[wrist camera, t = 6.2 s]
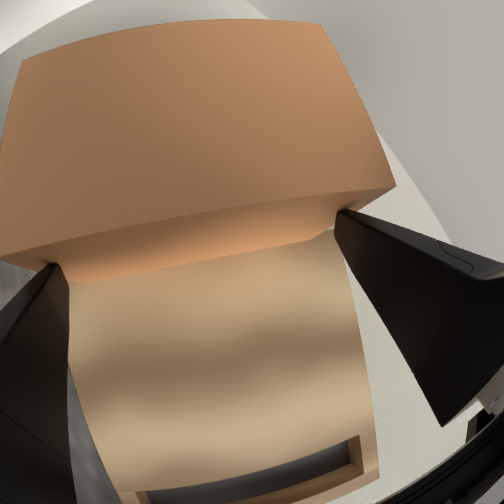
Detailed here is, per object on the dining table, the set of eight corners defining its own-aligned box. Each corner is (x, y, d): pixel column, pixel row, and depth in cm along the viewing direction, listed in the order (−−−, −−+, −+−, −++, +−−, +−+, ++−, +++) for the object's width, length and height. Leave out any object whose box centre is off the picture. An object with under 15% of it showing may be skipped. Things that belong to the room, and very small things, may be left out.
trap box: (363, 466, 15) (379, 478, 13) (147, 523, 12) (144, 541, 10) (265, 65, 19) (272, 46, 17) (68, 93, 16) (60, 75, 14)
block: (310, 239, 15) (396, 186, 8) (80, 284, 12) (-6, 258, 5) (274, 118, 16) (320, 24, 9) (73, 149, 13) (22, 60, 6)
